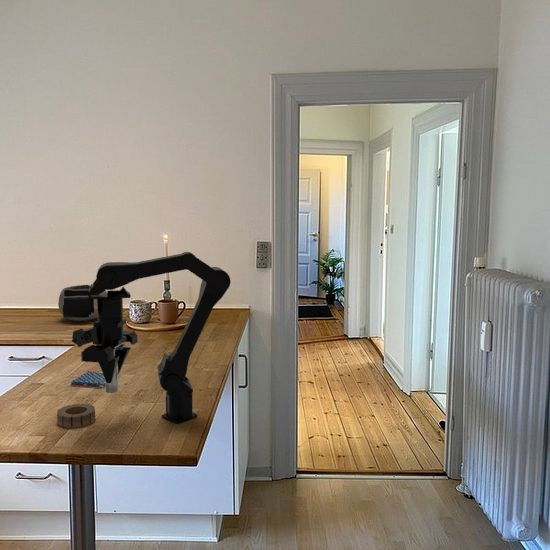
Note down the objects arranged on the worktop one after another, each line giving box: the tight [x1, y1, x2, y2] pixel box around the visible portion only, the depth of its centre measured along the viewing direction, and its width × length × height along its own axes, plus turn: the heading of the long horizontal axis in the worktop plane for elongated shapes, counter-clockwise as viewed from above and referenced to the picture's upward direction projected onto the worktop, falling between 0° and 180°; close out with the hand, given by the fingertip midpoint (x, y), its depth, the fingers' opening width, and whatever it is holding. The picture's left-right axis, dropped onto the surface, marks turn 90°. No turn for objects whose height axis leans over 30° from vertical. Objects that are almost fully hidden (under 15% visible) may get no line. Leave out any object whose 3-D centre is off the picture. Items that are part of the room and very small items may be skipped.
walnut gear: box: [56, 403, 96, 429], centre depth 135 cm, size 9×9×3 cm
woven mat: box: [70, 371, 105, 389], centre depth 163 cm, size 10×11×2 cm
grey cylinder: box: [104, 363, 119, 394], centre depth 132 cm, size 3×3×8 cm
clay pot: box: [57, 284, 107, 322], centre depth 243 cm, size 21×21×15 cm
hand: (111, 380), depth 132 cm, fingers closed on grey cylinder, 3 cm apart
